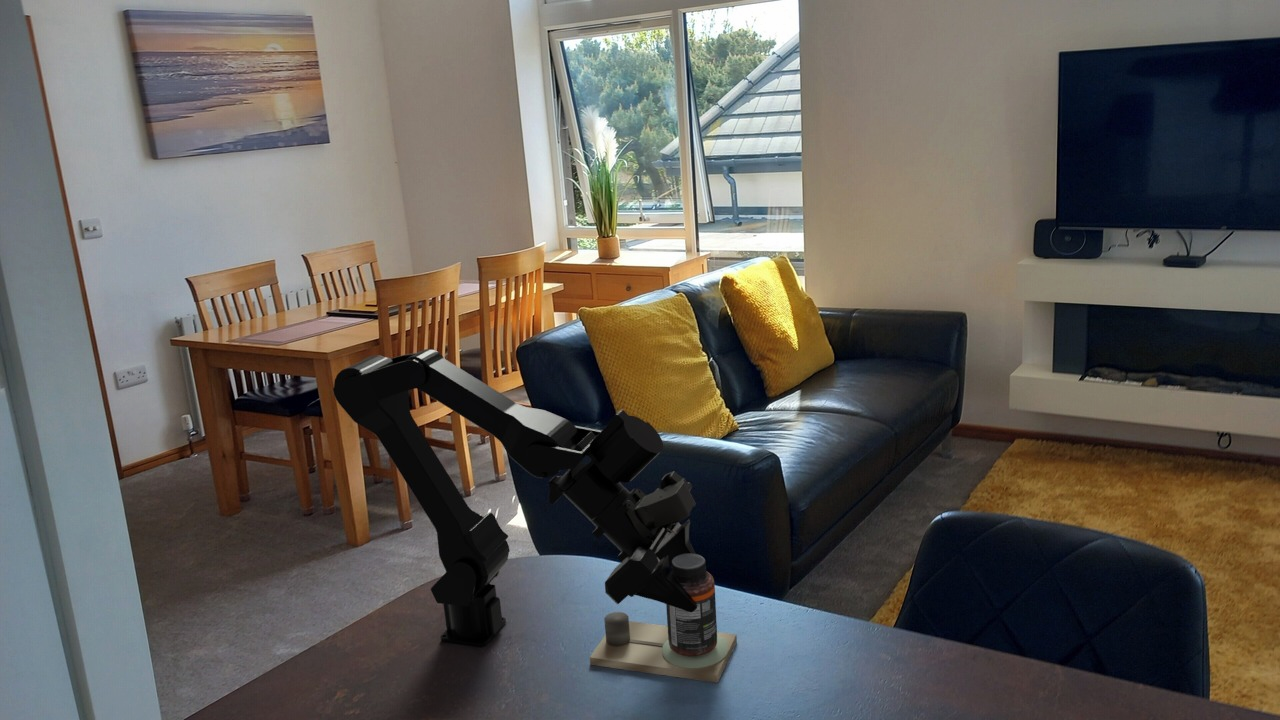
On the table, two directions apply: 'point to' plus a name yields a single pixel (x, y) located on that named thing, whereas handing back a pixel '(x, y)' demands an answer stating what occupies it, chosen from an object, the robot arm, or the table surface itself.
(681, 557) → the supplement bottle
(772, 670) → the table surface
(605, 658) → the board
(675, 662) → the pad
